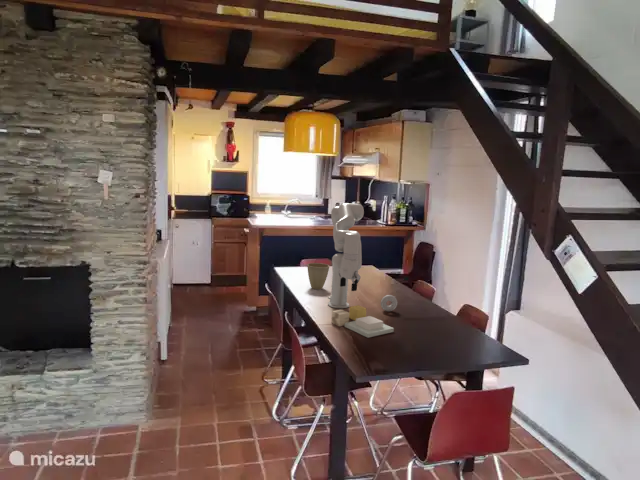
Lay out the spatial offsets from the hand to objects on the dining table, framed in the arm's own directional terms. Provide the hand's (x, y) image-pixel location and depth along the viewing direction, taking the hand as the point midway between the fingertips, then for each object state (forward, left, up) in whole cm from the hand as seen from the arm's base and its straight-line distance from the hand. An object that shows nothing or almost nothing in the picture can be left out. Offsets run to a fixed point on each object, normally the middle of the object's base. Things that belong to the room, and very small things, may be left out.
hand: (348, 288), depth 254 cm
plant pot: (-66, +30, -20) cm, 75 cm away
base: (+12, +6, -20) cm, 24 cm away
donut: (-6, +38, -20) cm, 43 cm away
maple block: (-2, -2, -20) cm, 20 cm away
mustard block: (-4, +12, -20) cm, 23 cm away
